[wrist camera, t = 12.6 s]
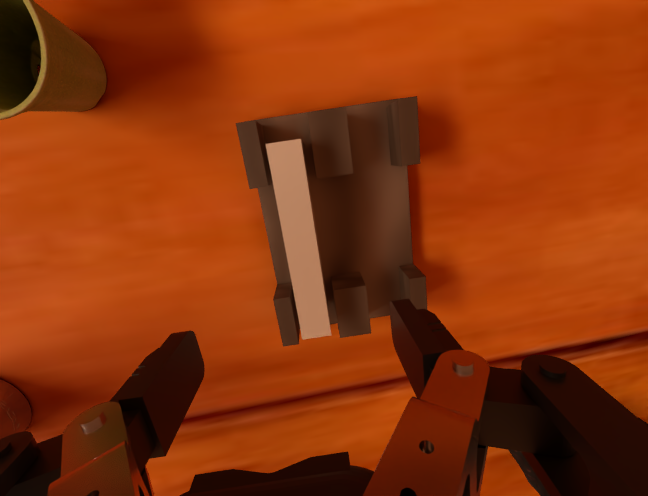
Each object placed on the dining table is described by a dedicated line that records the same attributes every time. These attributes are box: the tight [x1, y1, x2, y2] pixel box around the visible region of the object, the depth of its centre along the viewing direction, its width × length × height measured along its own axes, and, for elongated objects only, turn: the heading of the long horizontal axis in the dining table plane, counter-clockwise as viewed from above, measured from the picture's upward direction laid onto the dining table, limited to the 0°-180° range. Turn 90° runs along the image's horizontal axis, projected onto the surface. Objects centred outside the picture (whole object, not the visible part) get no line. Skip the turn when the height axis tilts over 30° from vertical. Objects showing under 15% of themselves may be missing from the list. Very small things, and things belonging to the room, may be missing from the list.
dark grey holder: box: [236, 96, 427, 346], centre depth 28 cm, size 14×21×5 cm, turn 8°
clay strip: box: [266, 139, 331, 339], centre depth 26 cm, size 2×16×6 cm, turn 8°
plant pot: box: [0, 0, 107, 120], centre depth 22 cm, size 9×9×9 cm
